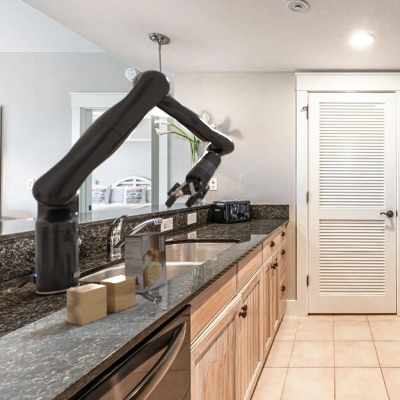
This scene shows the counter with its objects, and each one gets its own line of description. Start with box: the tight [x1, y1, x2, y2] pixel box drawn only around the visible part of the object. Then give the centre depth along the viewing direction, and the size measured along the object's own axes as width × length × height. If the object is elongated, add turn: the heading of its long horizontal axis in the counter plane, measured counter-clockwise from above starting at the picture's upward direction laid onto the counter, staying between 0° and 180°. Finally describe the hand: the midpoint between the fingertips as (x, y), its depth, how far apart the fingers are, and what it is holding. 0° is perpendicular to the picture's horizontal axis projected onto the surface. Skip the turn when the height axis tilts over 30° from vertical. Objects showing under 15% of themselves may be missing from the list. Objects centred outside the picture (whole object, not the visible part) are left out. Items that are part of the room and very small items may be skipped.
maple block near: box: [66, 283, 108, 326], centre depth 64 cm, size 5×5×7 cm
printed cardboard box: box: [123, 231, 167, 294], centre depth 85 cm, size 9×6×16 cm
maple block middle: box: [99, 275, 136, 314], centre depth 70 cm, size 5×5×7 cm
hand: (177, 206), depth 96 cm, fingers open, 8 cm apart
